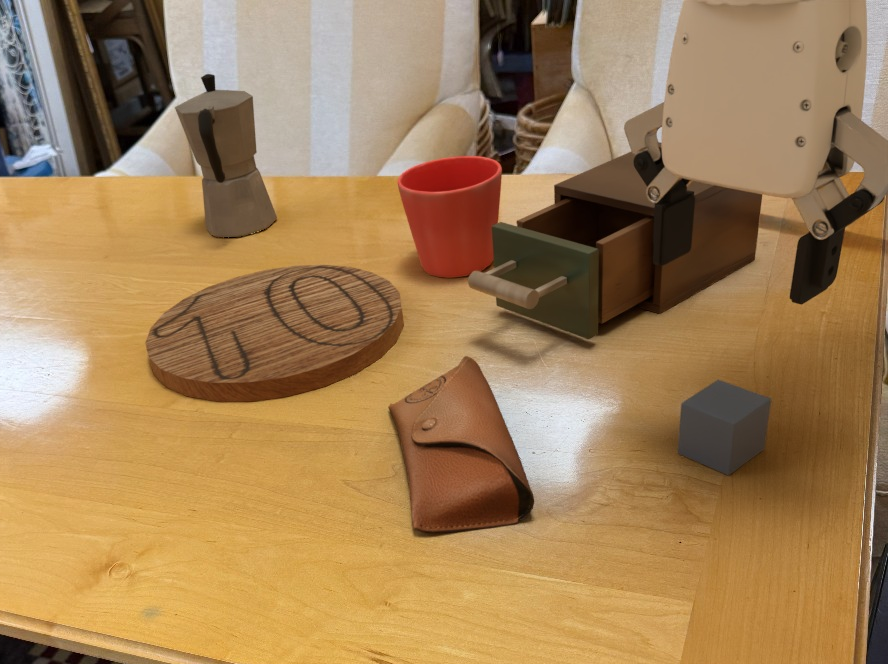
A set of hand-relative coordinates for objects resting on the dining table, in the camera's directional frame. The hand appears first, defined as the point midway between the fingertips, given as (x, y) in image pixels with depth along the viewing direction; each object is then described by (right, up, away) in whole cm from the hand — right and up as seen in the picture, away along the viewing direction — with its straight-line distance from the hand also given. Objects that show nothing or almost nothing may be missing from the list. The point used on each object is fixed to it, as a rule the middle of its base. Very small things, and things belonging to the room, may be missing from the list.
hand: (736, 276), depth 57 cm
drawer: (-5, +4, +27) cm, 28 cm away
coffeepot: (-40, +20, +59) cm, 74 cm away
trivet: (-33, +2, +33) cm, 46 cm away
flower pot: (-14, +11, +41) cm, 45 cm away
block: (+2, -11, +8) cm, 13 cm away
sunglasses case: (-17, -11, +12) cm, 23 cm away
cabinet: (+5, +9, +33) cm, 35 cm away
